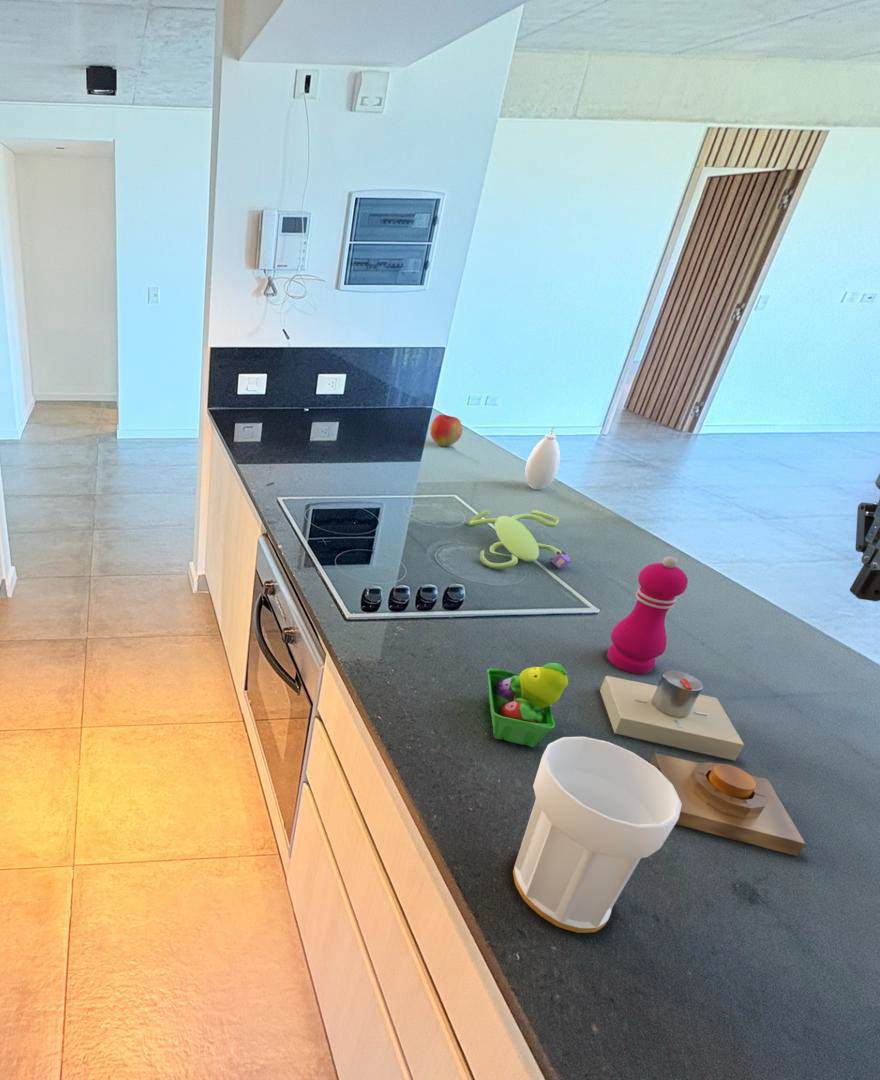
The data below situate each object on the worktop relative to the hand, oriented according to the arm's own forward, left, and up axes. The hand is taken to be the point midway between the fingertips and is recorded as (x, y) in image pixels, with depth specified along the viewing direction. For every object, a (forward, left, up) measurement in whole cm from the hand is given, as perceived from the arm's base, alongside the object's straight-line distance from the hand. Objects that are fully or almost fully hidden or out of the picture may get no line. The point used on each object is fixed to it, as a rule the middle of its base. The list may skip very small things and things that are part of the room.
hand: (864, 596), depth 70 cm
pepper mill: (+11, -20, -27) cm, 36 cm away
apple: (+40, -134, -27) cm, 142 cm away
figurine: (+25, -60, -27) cm, 70 cm away
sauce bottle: (+16, -101, -27) cm, 106 cm away
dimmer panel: (+10, -5, -27) cm, 29 cm away
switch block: (+8, +10, -27) cm, 30 cm away
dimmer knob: (+10, -5, -24) cm, 26 cm away
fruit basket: (+30, +3, -27) cm, 41 cm away
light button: (+8, +10, -23) cm, 27 cm away
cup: (+28, +30, -27) cm, 49 cm away
